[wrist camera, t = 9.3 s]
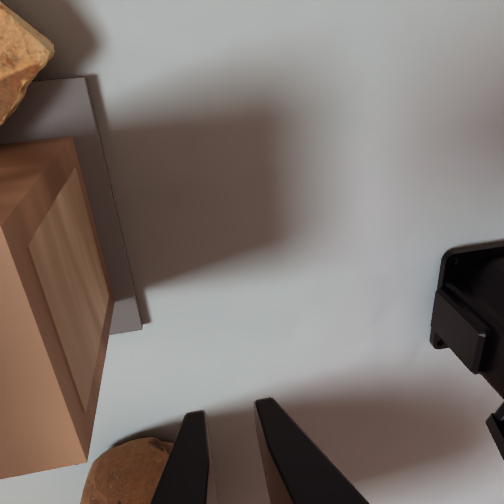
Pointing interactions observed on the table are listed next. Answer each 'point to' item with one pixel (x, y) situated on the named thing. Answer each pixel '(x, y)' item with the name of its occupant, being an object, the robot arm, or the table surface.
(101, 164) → the mat
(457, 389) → the table surface
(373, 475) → the table surface
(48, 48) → the shard
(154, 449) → the brown oblong lump
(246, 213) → the table surface
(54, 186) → the slab
